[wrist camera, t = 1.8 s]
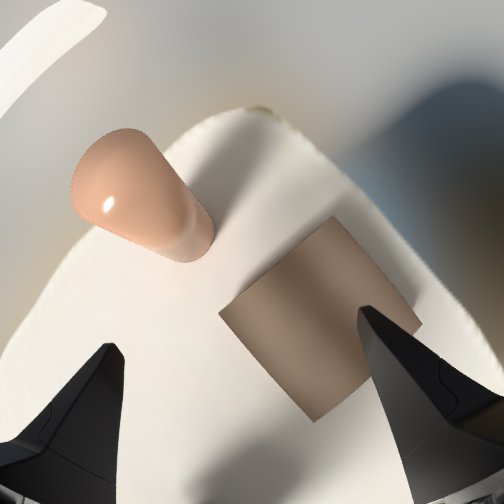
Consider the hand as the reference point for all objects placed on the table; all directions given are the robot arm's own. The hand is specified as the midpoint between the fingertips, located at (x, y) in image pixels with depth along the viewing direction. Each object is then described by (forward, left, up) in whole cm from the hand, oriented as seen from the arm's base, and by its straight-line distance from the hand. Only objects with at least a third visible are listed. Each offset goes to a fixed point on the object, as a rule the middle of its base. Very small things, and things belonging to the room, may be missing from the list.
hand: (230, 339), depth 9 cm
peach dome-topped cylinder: (0, +10, -14) cm, 17 cm away
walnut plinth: (+4, -3, -14) cm, 14 cm away
